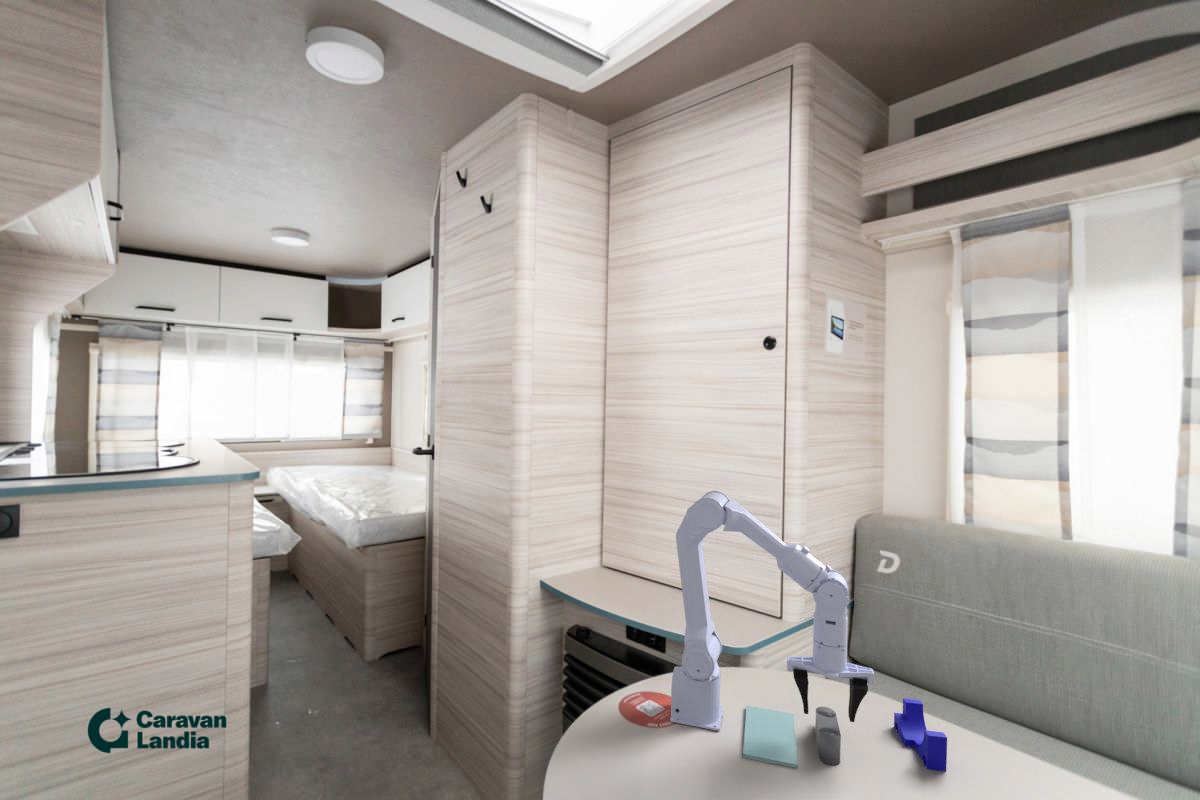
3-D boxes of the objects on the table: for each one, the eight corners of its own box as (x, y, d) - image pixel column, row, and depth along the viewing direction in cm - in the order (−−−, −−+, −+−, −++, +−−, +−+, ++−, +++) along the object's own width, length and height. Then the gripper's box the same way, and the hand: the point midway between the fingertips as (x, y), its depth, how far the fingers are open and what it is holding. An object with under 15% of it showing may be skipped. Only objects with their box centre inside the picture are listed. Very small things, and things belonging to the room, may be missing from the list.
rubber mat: (743, 757, 97) (743, 753, 97) (746, 708, 112) (746, 705, 112) (797, 768, 94) (797, 764, 94) (793, 716, 110) (793, 713, 110)
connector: (819, 763, 96) (820, 737, 96) (813, 723, 108) (814, 700, 108) (841, 767, 95) (842, 741, 95) (833, 726, 107) (833, 703, 107)
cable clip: (893, 728, 107) (894, 697, 107) (919, 731, 106) (919, 699, 106) (917, 768, 95) (918, 734, 95) (946, 772, 94) (947, 737, 94)
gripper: (788, 643, 99) (787, 719, 99) (878, 656, 94) (876, 735, 94) (787, 628, 105) (785, 699, 105) (870, 639, 101) (869, 713, 101)
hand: (828, 714), depth 100 cm, fingers open, 7 cm apart
